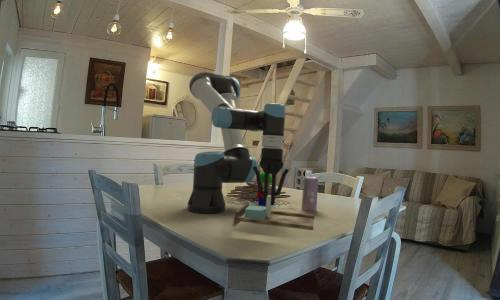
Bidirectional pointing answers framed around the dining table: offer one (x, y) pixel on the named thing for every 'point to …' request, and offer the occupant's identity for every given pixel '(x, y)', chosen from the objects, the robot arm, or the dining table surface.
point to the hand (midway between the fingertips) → (268, 213)
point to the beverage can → (310, 193)
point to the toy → (261, 196)
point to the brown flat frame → (278, 219)
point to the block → (255, 212)
